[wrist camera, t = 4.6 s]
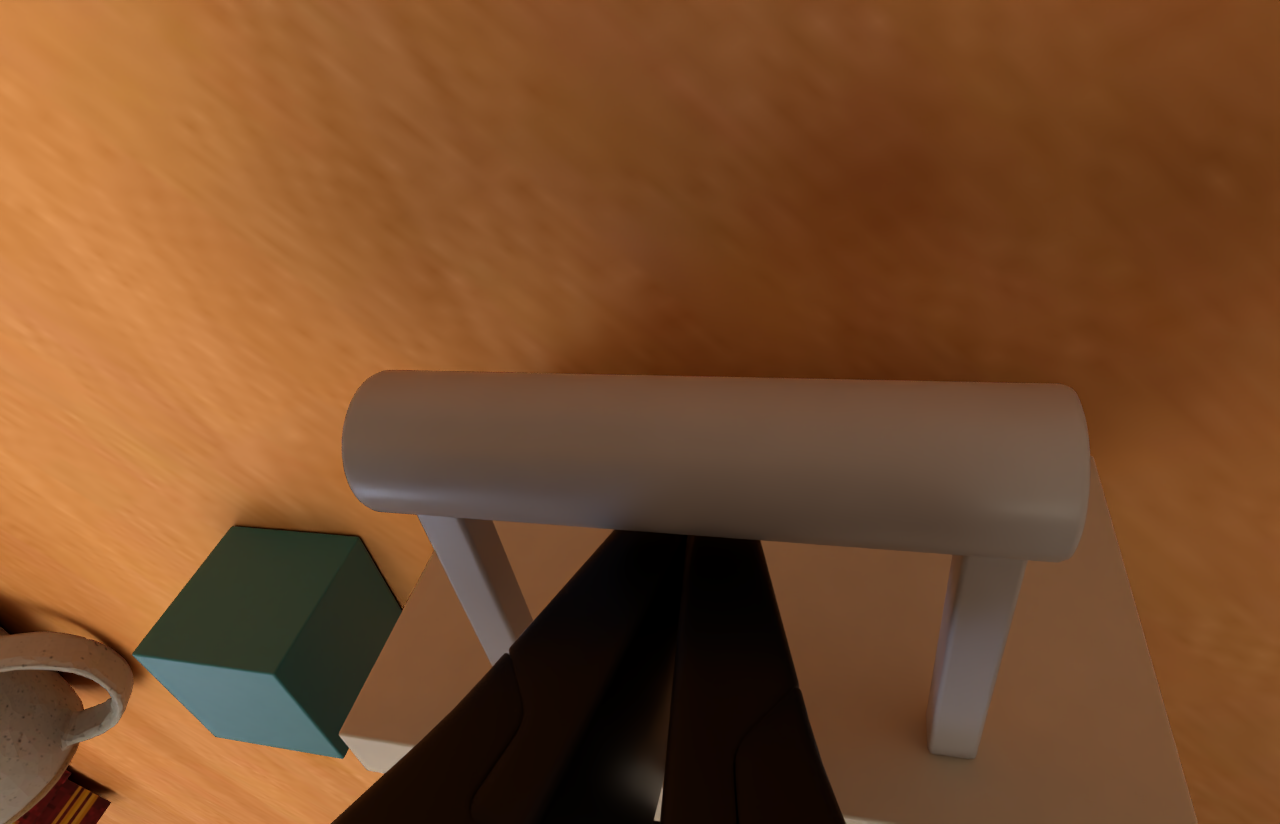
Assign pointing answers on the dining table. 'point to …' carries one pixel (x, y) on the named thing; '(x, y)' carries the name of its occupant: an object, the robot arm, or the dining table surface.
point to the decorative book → (66, 805)
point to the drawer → (798, 569)
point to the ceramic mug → (50, 710)
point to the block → (274, 637)
